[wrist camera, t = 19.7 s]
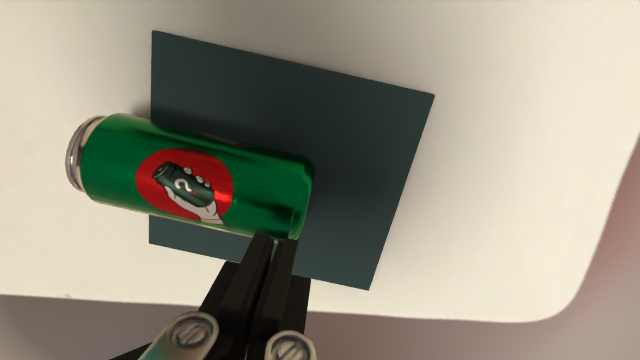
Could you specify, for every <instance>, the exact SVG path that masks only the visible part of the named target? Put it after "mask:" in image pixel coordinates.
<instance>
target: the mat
mask: <svg viewBox="0 0 640 360" xmlns="http://www.w3.org/2000/svg"><path fill="white" fill-rule="evenodd" d="M434 97H435V95H433V94H430V93H425V92H421V91H416V90H412V89H408V88H403V87H399V86H395V85H390V84H386V83H382V82H377V81H373V80H368V79H364V78H360V77H355V76H351V75H347V74H342V73H338V72H334V71H329V70H325V69H320V68H316V67H312V66H307V65H303V64H299V63H294V62H290V61H285V60H281V59H277V58H272V57H268V56H264V55H259V54H255V53H251V52H246V51H242V50H237V49H233V48H229V47H224V46H220V45H216V44H211V43H207V42H203V41H198V40H194V39H189V38H185V37H181V36H176V35H172V34H168V33H163V32H159V31H152V57H151V120H153V121H158V122H162V123H166V124H170V125H175V126H179V127H183V128H187V129H191V130H196V131H200V132H204V133H208V134H213V135H217V136H221V137H225V138H230V139H234V140H238V141H242V142H247V143H251V144H255V145H259V146H264V147H268V148H272V149H276V150H281V151H285V152H289V153H293V154H298V155H302V156H306V157H308V158H309V159H310V160H311V161H312V162H313V164H314V165H315V166H316V172H315V176H314V181H313V185H312V189H311V194H310V198H309V202H308V207H307V211H306V215H305V219H304V224H303V228H302V232H301V236H300V239H299V241H298V246H297V251H296V255H295V260H294V265H293V269H292V274H294V275H298V276H303V277H307V278H312V279H317V280H321V281H326V282H331V283H335V284H340V285H345V286H349V287H354V288H359V289H363V290H368V291H369V288H370V285H371V282H372V279H373V276H374V274H375V271H376V268H377V265H378V262H379V259H380V256H381V253H382V250H383V247H384V244H385V241H386V238H387V235H388V232H389V229H390V226H391V224H392V221H393V218H394V215H395V212H396V209H397V206H398V203H399V200H400V197H401V194H402V191H403V188H404V185H405V182H406V179H407V176H408V174H409V171H410V168H411V165H412V162H413V159H414V156H415V153H416V150H417V147H418V144H419V141H420V138H421V135H422V132H423V129H424V126H425V124H426V121H427V118H428V115H429V112H430V109H431V106H432V103H433V100H434ZM251 240H252V238H250V237H245V236H241V235H237V234H232V233H228V232H223V231H219V230H215V229H210V228H206V227H202V226H197V225H193V224H188V223H184V222H180V221H175V220H171V219H167V218H162V217H158V216H153V215H149V243H150V244H154V245H159V246H164V247H168V248H173V249H178V250H182V251H187V252H191V253H196V254H201V255H205V256H210V257H215V258H219V259H224V260H229V261H233V262H238V263H241V261H242V259H243V257H244V255H245V253H246V251H247V249H248V246H249V244H250V242H251ZM276 247H277V244H276V243H274V246H273V252H272V257H271V262H272V259H273V256H274V253H275V250H276ZM270 264H271V263H270Z"/></svg>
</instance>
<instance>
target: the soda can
mask: <svg viewBox="0 0 640 360" xmlns="http://www.w3.org/2000/svg"><path fill="white" fill-rule="evenodd" d="M65 166H66V173H67V177H68V179H69V181H70V183H71V184H72V186H73V187H74V188H76V189H77V190H79V191H81V192H84V193H86V194H87V195H88V196H89V197H90V198H91V199H92V200H93V201H95V202H97V203H101V204H105V205H110V206H114V207H118V208H123V209H127V210H131V211H136V212H140V213H145V214H149V215H153V216H158V217H162V218H167V219H171V220H175V221H180V222H184V223H188V224H193V225H197V226H202V227H206V228H210V229H215V230H219V231H223V232H228V233H232V234H237V235H241V236H245V237H250V238H253V236H254V234H255V232H256V231H258V232H262V233H267V234H270V238H272V239H275V240H274V243H276V244H278V241H279V240H282V241H284V239H285V237H286V238H290V239H295V240H299V239H300V236H301V232H302V228H303V224H304V219H305V215H306V211H307V207H308V202H309V198H310V194H311V189H312V185H313V181H314V176H315V172H316V166H315V165H314V164H313V162H312V161H311V160H310V159H309V158H308V157H306V156H302V155H298V154H293V153H289V152H285V151H281V150H276V149H272V148H268V147H264V146H259V145H255V144H251V143H247V142H242V141H238V140H234V139H230V138H225V137H221V136H217V135H213V134H208V133H204V132H200V131H196V130H191V129H187V128H183V127H179V126H175V125H170V124H166V123H162V122H158V121H153V120H149V119H145V118H141V117H136V116H132V115H128V114H124V113H117V114H113V115H110V116H95V117H92V118H90V119H88V120H86V121H85V122H83V123H82V124H81V125H80V126H79V127H78V129H77V130H76V131H75V133H74V135H73V136H72V138H71V140H70V142H69V145H68V148H67V153H66V160H65Z"/></svg>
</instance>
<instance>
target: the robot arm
mask: <svg viewBox="0 0 640 360" xmlns="http://www.w3.org/2000/svg"><path fill="white" fill-rule="evenodd" d="M274 240H275V239H272V238H270V234H267V233H262V232H258V231H256V232H255V234H254V236H253V238H252V240H251V242H250V244H249V246H248V249H247V251H246V253H245V255H244V257H243V259H242V261H241V263H236V262H231V261H226V262H225V263H224V265H223V267H222V269H221V270H220V272H219V274H218V276H217V278H216V279H215V281H214V283H213V285H212V287H211V288H210V290H209V292H208V294H207V296H206V297H205V299H204V301H203V303H202V305H201V306H200V308H199V310H198V311H195V312H194V311H191V312H187V313H183V314H181V315H179V316H177V317H176V318H175V319H173V320H172V321H171V322H170V323H169V324H168V325H167V326H166V328H165V329H164V330H163V331H162V332H161V333H160V335H159V336H158V337H157V338H156V339H155V340H154V341H153V342H151V343H149V344H147V345H144V346H142V347H139V348H137V349H134V350H132V351H130V352H127V353H125V354H122V355H120V356H117V357H115V358H113V359H110V360H245V357H246V353H247V357H246V360H316V353H315V348H314V345H313V344H312V342H311V341H310V339H308V338H307V337H306V336H305V335H304V329H305V321H306V314H307V307H308V299H309V292H310V284H311V278H307V277H302V276H297V275H293V274H292V269H293V265H294V260H295V255H296V251H297V246H298V241H299V240H295V239H290V238H286V237H285V239H284V241H282V240H279V241H278V244H277V247H276V250H275V253H274V256H273V259H272V262H271V257H272V252H273V246H274ZM270 263H271V264H270Z"/></svg>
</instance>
